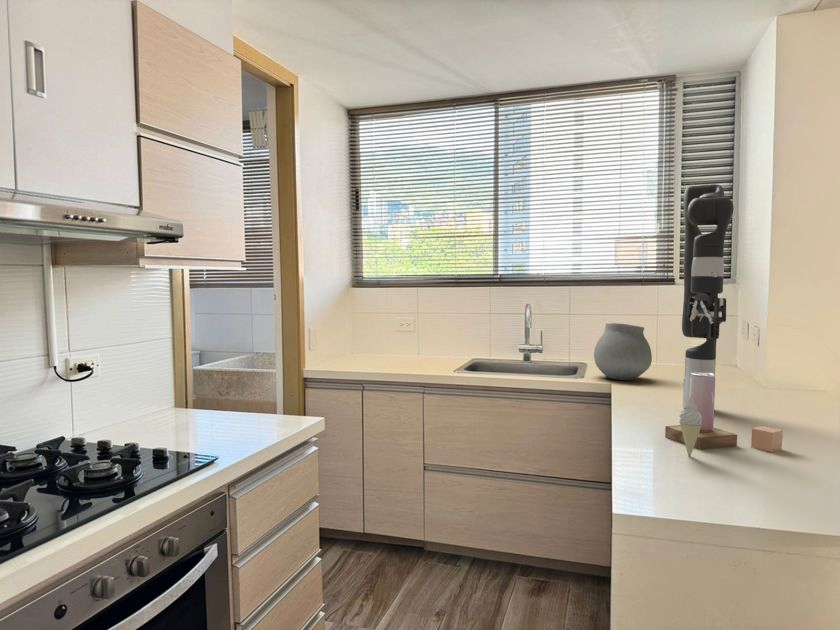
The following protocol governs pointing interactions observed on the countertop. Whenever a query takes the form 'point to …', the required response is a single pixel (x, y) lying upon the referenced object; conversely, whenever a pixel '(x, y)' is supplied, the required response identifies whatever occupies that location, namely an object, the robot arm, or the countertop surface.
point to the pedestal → (704, 437)
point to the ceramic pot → (622, 352)
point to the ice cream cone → (690, 424)
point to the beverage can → (704, 397)
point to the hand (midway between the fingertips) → (704, 337)
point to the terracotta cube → (766, 439)
